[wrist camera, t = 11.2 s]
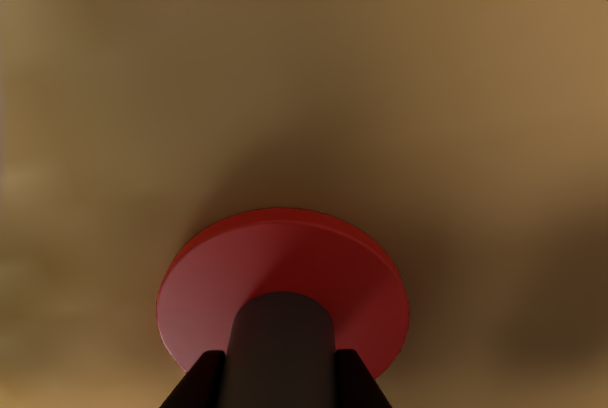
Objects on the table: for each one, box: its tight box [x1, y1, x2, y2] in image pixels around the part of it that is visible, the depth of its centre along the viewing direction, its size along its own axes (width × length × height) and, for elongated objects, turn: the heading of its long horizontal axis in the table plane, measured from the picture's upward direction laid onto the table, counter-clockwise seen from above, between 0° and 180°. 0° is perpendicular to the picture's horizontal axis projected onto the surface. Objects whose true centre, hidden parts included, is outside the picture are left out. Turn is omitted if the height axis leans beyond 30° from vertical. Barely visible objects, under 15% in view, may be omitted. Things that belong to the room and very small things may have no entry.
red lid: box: [156, 208, 410, 408], centre depth 8 cm, size 6×6×4 cm
